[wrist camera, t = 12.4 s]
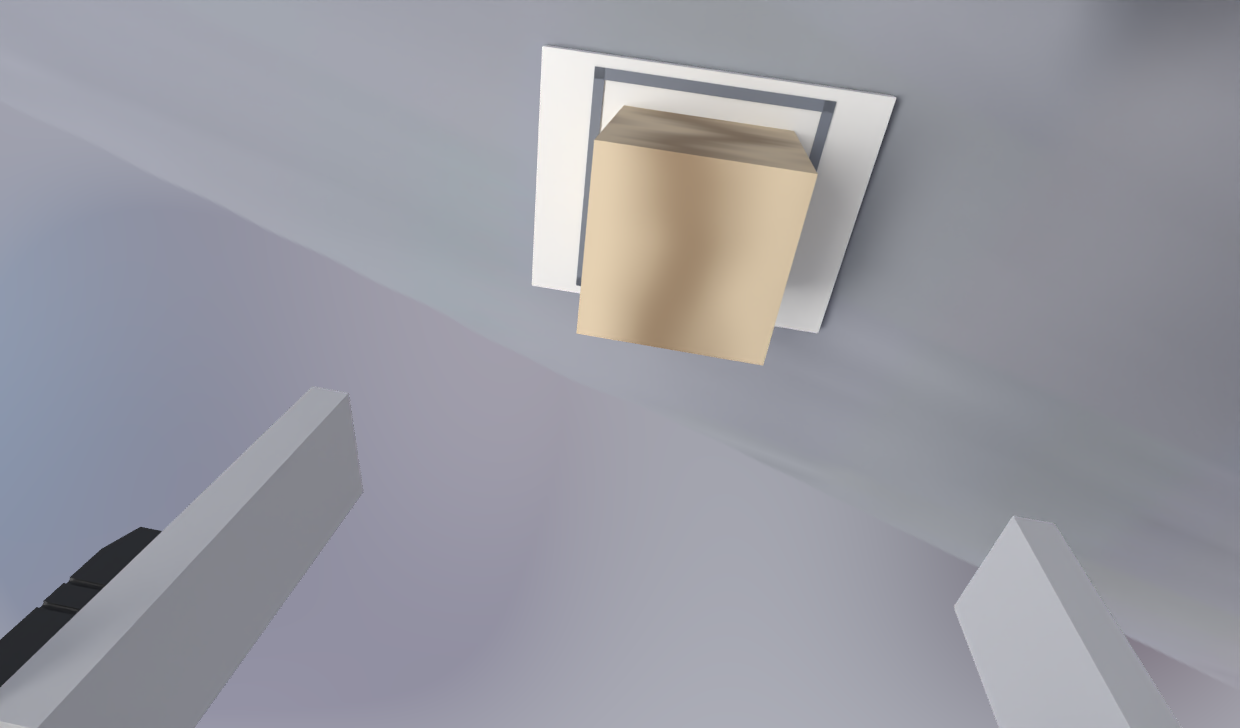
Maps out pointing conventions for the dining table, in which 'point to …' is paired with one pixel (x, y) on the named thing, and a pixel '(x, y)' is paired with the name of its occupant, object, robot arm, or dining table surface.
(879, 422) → the dining table surface
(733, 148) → the wooden plinth
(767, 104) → the white flat piece
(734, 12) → the dining table surface
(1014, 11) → the dining table surface
